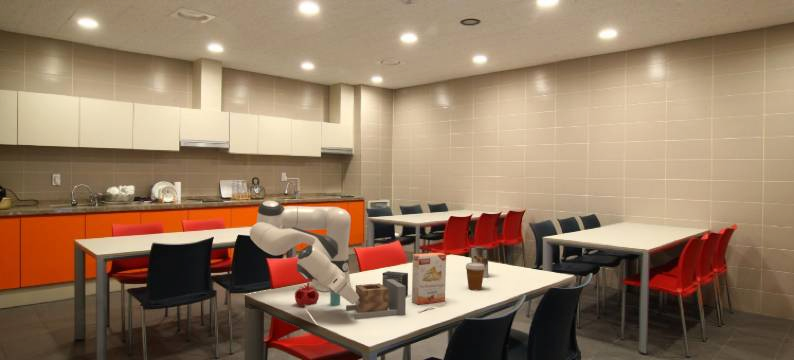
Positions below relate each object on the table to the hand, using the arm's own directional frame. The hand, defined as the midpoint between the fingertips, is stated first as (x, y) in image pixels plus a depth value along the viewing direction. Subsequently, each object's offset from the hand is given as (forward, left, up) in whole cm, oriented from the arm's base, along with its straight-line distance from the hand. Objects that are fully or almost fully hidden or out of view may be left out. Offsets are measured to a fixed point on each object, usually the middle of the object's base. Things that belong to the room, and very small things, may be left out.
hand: (357, 303), depth 188 cm
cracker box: (+8, +37, -6) cm, 38 cm away
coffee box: (-2, +100, -6) cm, 100 cm away
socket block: (+2, +5, -4) cm, 7 cm away
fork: (+15, +25, -6) cm, 29 cm away
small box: (-10, +36, -6) cm, 38 cm away
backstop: (+2, +4, -5) cm, 7 cm away
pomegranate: (-28, -1, -6) cm, 29 cm away
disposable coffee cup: (+11, +72, -6) cm, 73 cm away
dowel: (-17, +4, -5) cm, 18 cm away
